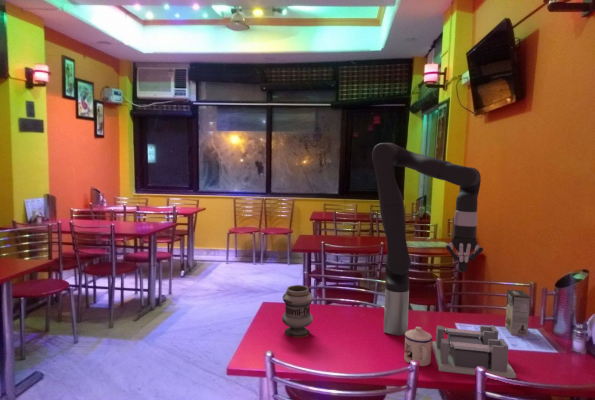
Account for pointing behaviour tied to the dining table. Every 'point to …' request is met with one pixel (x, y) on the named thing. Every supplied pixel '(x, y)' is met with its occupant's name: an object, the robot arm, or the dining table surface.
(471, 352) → the base
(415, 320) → the dining table surface
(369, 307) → the dining table surface
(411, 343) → the teacup with lid
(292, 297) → the apothecary jar
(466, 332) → the grey hinged latch bar
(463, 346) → the strap
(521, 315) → the coffee box
